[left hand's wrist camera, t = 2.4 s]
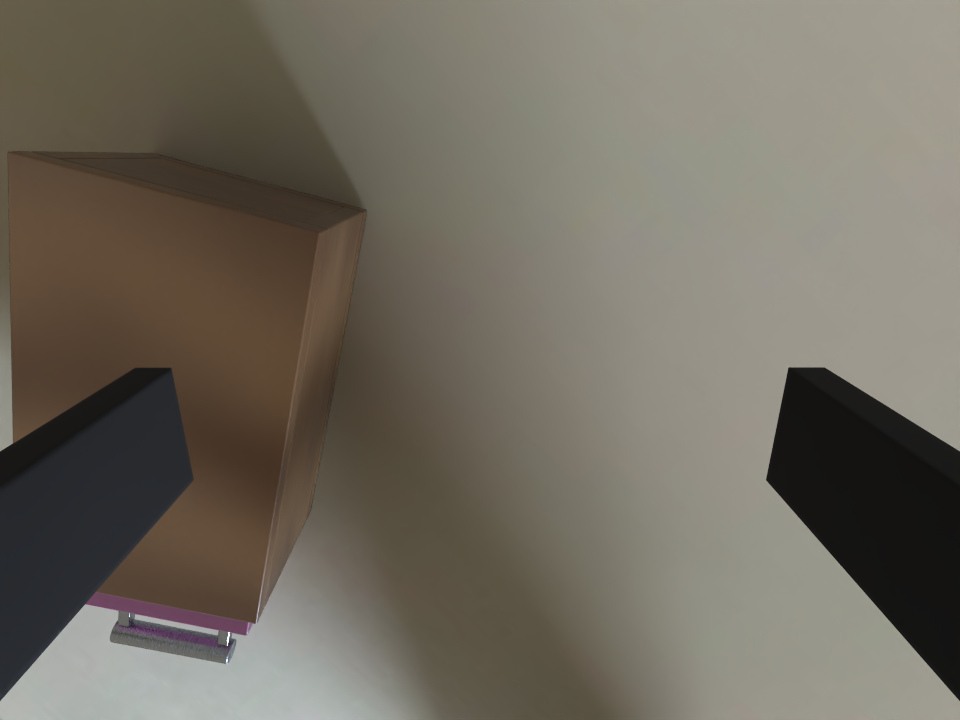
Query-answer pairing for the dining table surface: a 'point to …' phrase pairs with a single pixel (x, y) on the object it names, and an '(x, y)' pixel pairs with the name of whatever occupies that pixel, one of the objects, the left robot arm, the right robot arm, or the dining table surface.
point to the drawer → (171, 629)
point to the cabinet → (188, 345)
